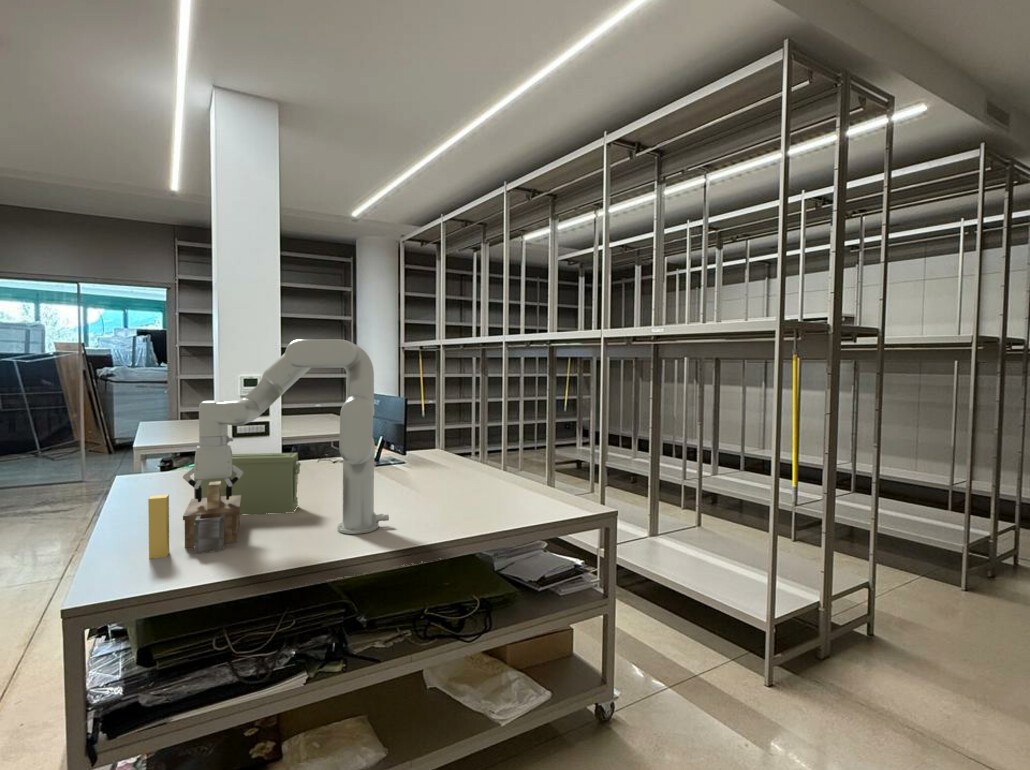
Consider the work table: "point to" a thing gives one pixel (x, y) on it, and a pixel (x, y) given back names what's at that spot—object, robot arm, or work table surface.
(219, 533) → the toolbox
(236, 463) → the ammunition box
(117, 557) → the work table surface
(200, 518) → the lid
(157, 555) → the yellow rectangular block
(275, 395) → the robot arm
